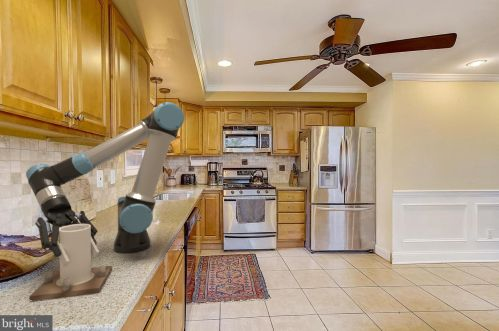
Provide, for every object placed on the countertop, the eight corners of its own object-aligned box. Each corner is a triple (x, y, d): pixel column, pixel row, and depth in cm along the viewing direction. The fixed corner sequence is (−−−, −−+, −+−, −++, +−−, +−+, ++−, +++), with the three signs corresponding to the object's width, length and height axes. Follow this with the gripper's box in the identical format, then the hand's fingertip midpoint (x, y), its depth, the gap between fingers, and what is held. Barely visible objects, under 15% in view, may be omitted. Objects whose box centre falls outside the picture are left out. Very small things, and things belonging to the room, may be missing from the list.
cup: (87, 269, 88) (86, 222, 87) (94, 277, 82) (94, 227, 82) (57, 277, 82) (56, 227, 81) (63, 286, 76) (62, 232, 76)
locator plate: (111, 269, 92) (111, 257, 92) (99, 292, 76) (99, 277, 76) (55, 275, 88) (55, 262, 88) (29, 301, 71) (29, 285, 71)
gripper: (82, 205, 98) (109, 255, 91) (10, 215, 80) (37, 279, 72) (90, 192, 96) (118, 242, 88) (18, 199, 77) (47, 263, 70)
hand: (82, 258), depth 80 cm, fingers closed on cup, 8 cm apart
